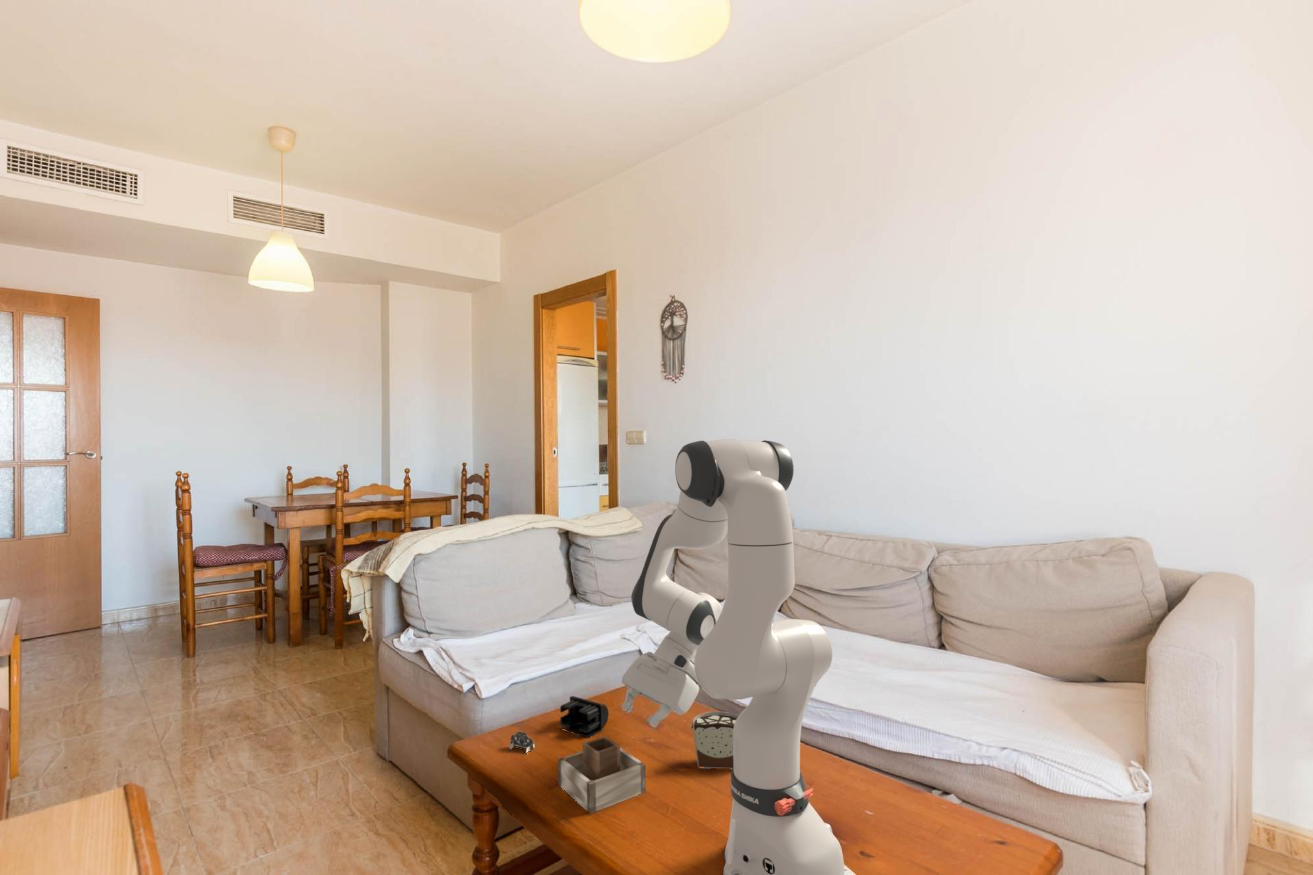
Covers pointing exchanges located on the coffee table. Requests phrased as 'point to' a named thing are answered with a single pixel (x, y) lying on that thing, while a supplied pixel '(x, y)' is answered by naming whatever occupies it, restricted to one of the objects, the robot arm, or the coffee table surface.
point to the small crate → (600, 758)
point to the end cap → (584, 716)
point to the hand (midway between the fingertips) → (637, 717)
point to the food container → (714, 739)
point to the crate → (601, 782)
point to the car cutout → (521, 741)
